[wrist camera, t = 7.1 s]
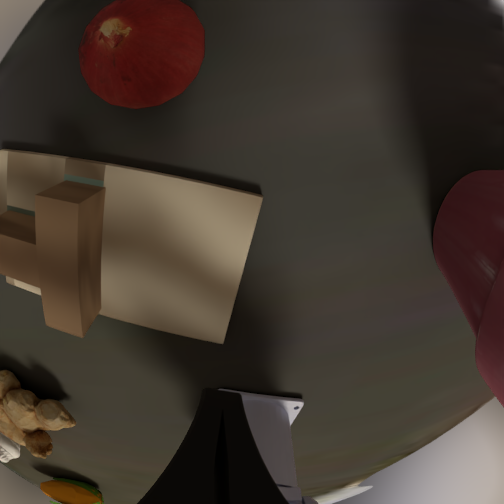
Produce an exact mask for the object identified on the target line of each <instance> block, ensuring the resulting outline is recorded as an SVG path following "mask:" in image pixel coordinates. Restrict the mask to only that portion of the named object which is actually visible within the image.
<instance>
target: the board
mask: <svg viewBox="0 0 504 504" xmlns="http://www.w3.org/2000/svg"><path fill="white" fill-rule="evenodd" d="M65 180H68V181H74V182H79V183H85V184H90V185H95V186H100V187H106V192H105V203H104V215H103V230H102V253H101V310H100V311H99V313H98V314H101V315H104V316H107V317H111V318H114V319H118V320H122V321H125V322H129V323H133V324H136V325H140V326H144V327H148V328H152V329H156V330H160V331H164V332H169V333H173V334H177V335H182V336H186V337H191V338H195V339H200V340H205V341H210V342H215V343H220V344H223V342H224V339H225V335H226V331H227V328H228V324H229V320H230V317H231V313H232V309H233V306H234V302H235V298H236V295H237V291H238V287H239V284H240V280H241V276H242V273H243V269H244V265H245V262H246V258H247V254H248V251H249V247H250V243H251V240H252V236H253V232H254V229H255V225H256V222H257V218H258V214H259V211H260V207H261V203H262V200H263V195H260V194H256V193H252V192H248V191H243V190H239V189H235V188H230V187H226V186H222V185H217V184H213V183H208V182H204V181H199V180H194V179H190V178H185V177H180V176H175V175H170V174H165V173H160V172H155V171H150V170H145V169H139V168H134V167H128V166H123V165H117V164H111V163H105V162H99V161H93V160H86V159H80V158H73V157H66V156H59V155H52V154H45V153H37V152H29V151H20V150H11V149H2V150H0V215H1V214H3V213H5V212H6V211H8V210H10V211H14V212H18V213H22V214H26V215H30V216H34V217H35V195H36V194H38V193H40V192H42V191H44V190H46V189H48V188H50V187H52V186H55V185H57V184H59V183H61V182H63V181H65ZM6 280H7V283H10V284H12V285H15V286H18V287H20V288H23V289H25V290H28V291H31V292H34V293H36V294H39V295H41V290H40V288H38V287H35V286H32V285H29V284H26V283H24V282H21V281H18V280H16V279H13V278H10V277H8V276H6Z"/></svg>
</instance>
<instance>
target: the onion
mask: <svg viewBox="0 0 504 504" xmlns="http://www.w3.org/2000/svg"><path fill="white" fill-rule="evenodd" d="M78 50H79V59H80V67H81V73H82V75H83V77H84V79H85V81H86V82H87V84H88V86H89V88H90V89H91V91H92V92H94V93H95V94H96V95H98V96H99V97H101V98H102V99H103V100H105V101H106V102H108V103H109V104H111V105H117V106H122V107H128V108H133V109H140V108H146V107H152V106H158V105H161V104H163V103H164V102H166V101H168V100H170V99H172V98H174V97H175V96H177V95H179V94H181V93H182V92H183V91H184V90H185V89H186V88H187V87H188V85H189V84H190V83H191V82H192V81H193V80H194V79H195V77H196V76H197V74H198V71H199V69H200V66H201V64H202V61H203V58H204V52H205V30H204V28H203V27H202V25H201V23H200V21H199V19H198V17H197V15H196V13H195V12H194V11H193V10H192V8H191V7H189V6H187V5H186V4H184V3H183V2H181V1H179V0H116V1H114V2H112V3H111V4H109V5H107V6H106V7H104V8H102V9H101V10H100V11H99V13H98V14H97V15H96V16H95V17H94V18H93V19H92V21H91V22H90V23H89V24H88V25H87V27H86V29H85V32H84V35H83V37H82V40H81V43H80V46H79V49H78Z"/></svg>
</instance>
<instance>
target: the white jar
mask: <svg viewBox="0 0 504 504" xmlns="http://www.w3.org/2000/svg"><path fill="white" fill-rule="evenodd" d="M19 450H20V444H18V443H16V442H14V441H13V440H11V439H10V438H8V437H7V436H5V435H4V434H2V433H1V432H0V460H1V461H2V462H9V460H10V459H13V458H18V457H19V456H20V451H19Z"/></svg>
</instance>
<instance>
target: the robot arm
mask: <svg viewBox="0 0 504 504" xmlns="http://www.w3.org/2000/svg"><path fill="white" fill-rule="evenodd" d="M303 405H304V401H303V400H302V399H298V398H287V397H278V396H269V395H261V394H254V393H246V392H240V391H233V390H227V389H218V390H217V389H211V388H204V389H203V391H202V396H201V401H200V404H199V407H198V410H197V412H196V415H195V417H194V420H193V422H192V424H191V426H190V428H189V430H188V432H187V434H186V436H185V438H184V440H183V442H182V443H181V445H180V447H179V449H178V450H177V452H176V454H175V455H174V457H173V458H172V460H171V461H170V463H169V464H168V466H167V467H166V469H165V470H164V472H163V473H162V474H161V476H160V477H159V478H158V480H157V481H156V482H155V483H154V485H153V486H152V487H151V489H150V490H149V491H148V492H147V493H146V494H145V496H144V497H143V498H142V499H141V500H140V501H139V502H138V503H137V504H318V503H317V501H315V500H314V499H312V498H311V497H310V496H303V497H301V489H300V487H297V478H296V470H295V461H294V453H293V445H292V437H291V429H290V425H291V424H292V422H293V421H294V419H295V418H296V416H297V415H298V413H299V411H300V410H301V408H302V407H303Z"/></svg>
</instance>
